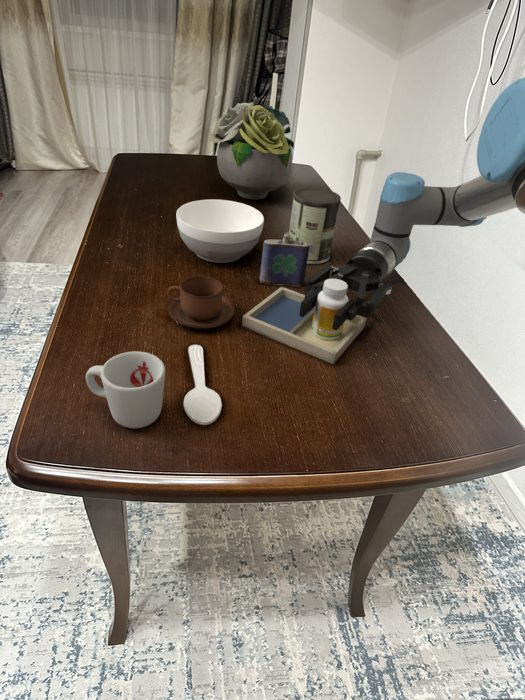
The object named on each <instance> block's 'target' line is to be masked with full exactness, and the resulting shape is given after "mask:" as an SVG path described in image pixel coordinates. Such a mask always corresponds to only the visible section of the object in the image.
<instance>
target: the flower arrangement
mask: <svg viewBox="0 0 525 700" xmlns="http://www.w3.org/2000/svg"><path fill="white" fill-rule="evenodd" d="M287 125H288V126H287ZM286 126H287V127H286ZM290 126H291V124H290V120H289V118H288V117H287V115H286V113H285V112H284V111H283V110H282V111H280V110H278V109H275V108H274V106H272V105H270V106H266V105H265V104H263V103H261V102H259V103H254V101H250V102H241V103H239V102H238V103H237V104H236V105H235V106H234V107H232V106H228V108H227V110H226V112H225V113H224V114H223V115H222V116H221V117H220V118H218V119H217V121H216V124H215V127H214V129H213V131H212V133H210V135H209V138H208V140H209V141H210V142H212V143H213V159H214V160H215V159H216V165H217V169H218V172H219V175H220V176H221V178H222V179H223V181H225V182H226V183H227V184H228V186H230V187H232V188H234V189H235V190H236V193H237V194H238V195H239V197H241V198H243V199H247V200H263V199H265V198H267V196H268V194H269V193H270V192H273V191H275V190H277V189H279V188H280V187H282V186H283V185H285V184H286V183H287V181H288V179H289V177H290V174H291V170H292V164H293V150H294V149H295V142H294V140H292V138H289V137H287V136H286V134H290V133H291V132H292V131H291V127H290ZM285 127H286V128H285ZM216 153H217V154H216ZM215 157H216V158H215Z"/></svg>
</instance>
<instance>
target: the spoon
mask: <svg viewBox="0 0 525 700" xmlns="http://www.w3.org/2000/svg"><path fill="white" fill-rule="evenodd" d="M187 348H188V349H187V353H188V357H189V362H190V367H191V372H192V378H193V382H194V388H192V389H191V390H189V391H188V392H187V393H186V394H185V396H184V398H183V402H182V403H183V409H184V412H185V414H186V415H187V417H188V418H189V420H191V421H192V422H194V423H195V424H198V425H200V426H201V425H202V426H207V425H210V424H212V423H214V422H215V421H217V419H218V418H219V416H220V414H221V411H222V407H223V404H222V398H221V396H220V394H219V393H217V392H216V391H215V390H214V389H211V388H209V387H207V386H206V377H205V361H204V360H205V359H204V349H203V347H202V346H201V345H200V344H191V345H189V346H188V347H187Z"/></svg>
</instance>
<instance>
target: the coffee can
mask: <svg viewBox="0 0 525 700" xmlns="http://www.w3.org/2000/svg"><path fill="white" fill-rule="evenodd" d="M292 196H293V199H292V207H291V214H290V223H289V230H288V232H290V237H291V238H292V239H293V240H297V241H298V240H301V241H302V242H306V243H307V244H309V253H308V259H307V265H320V264H325V263H326V262H329V260H330V259H331V258H330V257H331V250H332V245H333V239H334V233H335V230H336V229H335V228H336V222H337V218H338V212H339V207H340V203H341V200H342V198H341V196H340V194H339V193H337V192H336V191H332V190H329V189H326V188H321V187H313V186H305V187H299V188H296V189H295V190H294V191H293V194H292ZM299 242H300V241H299Z"/></svg>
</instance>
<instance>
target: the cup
mask: <svg viewBox="0 0 525 700" xmlns="http://www.w3.org/2000/svg"><path fill="white" fill-rule="evenodd" d="M95 376H98V377H99V378H100V379H101V382H102V386H103V387H101V386H100V385H99V384H98V383H97V381H96V378H95ZM165 380H166V367H165V364H164V362H163V361H162V359H160V358H159V357H158V356H156V355H155V354H152V353H150V352H146V351H126V352H122V353H119V354H116V355H114V356H112V357H110V358H109V359H107V361H106V362H105V363H104V364H103V365H94V366H91V367H90V368H88V370H87V371H86V373H85V382H86V386H87V388H88V389H89V391H90V392H91V393H92V394H93V395H95V396H98V397H102V398H105V399H106V401H107V404H108V408H109V411H110V414H111V416H112V418H113V420H114V421H115V422H116V423H117V424H118V425H120V426H122V427H124V428H127V429H141V428H145V427H148V426H149V425H151V424H153V423H154V422H156V420H158V418H159V416H160V415H161V412H162V407H163V402H164V401H163V399H164V392H165V391H164V389H165Z"/></svg>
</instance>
